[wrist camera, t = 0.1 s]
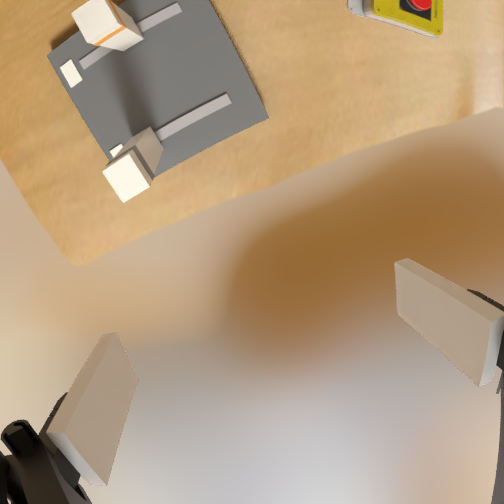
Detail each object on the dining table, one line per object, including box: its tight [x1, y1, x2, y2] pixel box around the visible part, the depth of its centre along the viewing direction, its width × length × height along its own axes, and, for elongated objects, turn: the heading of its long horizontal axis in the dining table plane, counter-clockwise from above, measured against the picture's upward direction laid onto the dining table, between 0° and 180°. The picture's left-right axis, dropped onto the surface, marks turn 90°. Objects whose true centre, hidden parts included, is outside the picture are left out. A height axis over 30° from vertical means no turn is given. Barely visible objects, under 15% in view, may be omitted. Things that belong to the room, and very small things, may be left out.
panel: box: [47, 0, 269, 177], centre depth 29 cm, size 18×20×2 cm
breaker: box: [102, 127, 164, 203], centre depth 27 cm, size 3×3×12 cm
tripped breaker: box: [71, 0, 144, 51], centre depth 20 cm, size 3×3×12 cm
